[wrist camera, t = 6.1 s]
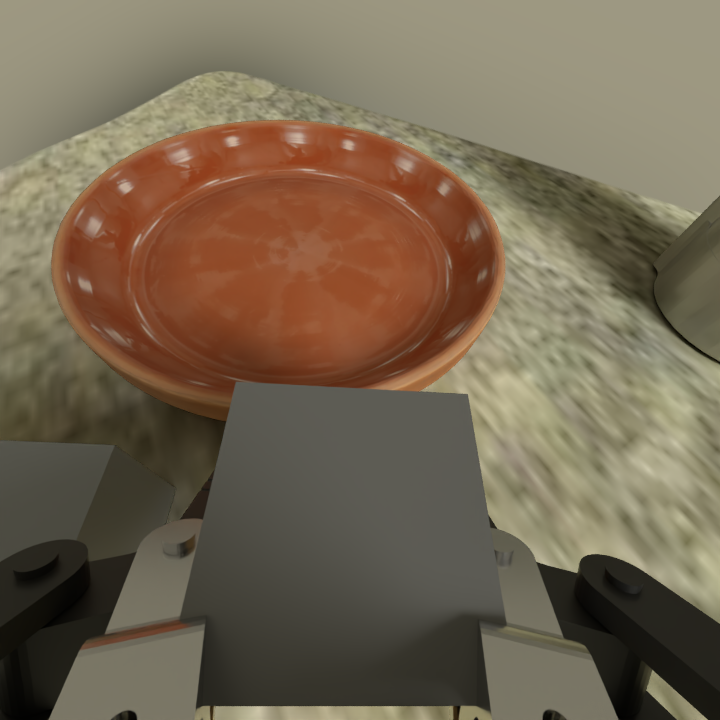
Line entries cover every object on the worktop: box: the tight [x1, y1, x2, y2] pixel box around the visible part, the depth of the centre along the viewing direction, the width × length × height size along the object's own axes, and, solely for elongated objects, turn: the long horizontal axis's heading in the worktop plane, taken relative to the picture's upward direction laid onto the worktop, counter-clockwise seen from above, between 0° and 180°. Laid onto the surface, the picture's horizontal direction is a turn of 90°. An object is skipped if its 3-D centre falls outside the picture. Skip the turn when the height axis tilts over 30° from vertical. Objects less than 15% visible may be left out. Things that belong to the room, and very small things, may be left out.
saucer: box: [51, 120, 505, 421], centre depth 21 cm, size 23×23×4 cm
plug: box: [179, 382, 507, 706], centre depth 9 cm, size 4×4×10 cm
